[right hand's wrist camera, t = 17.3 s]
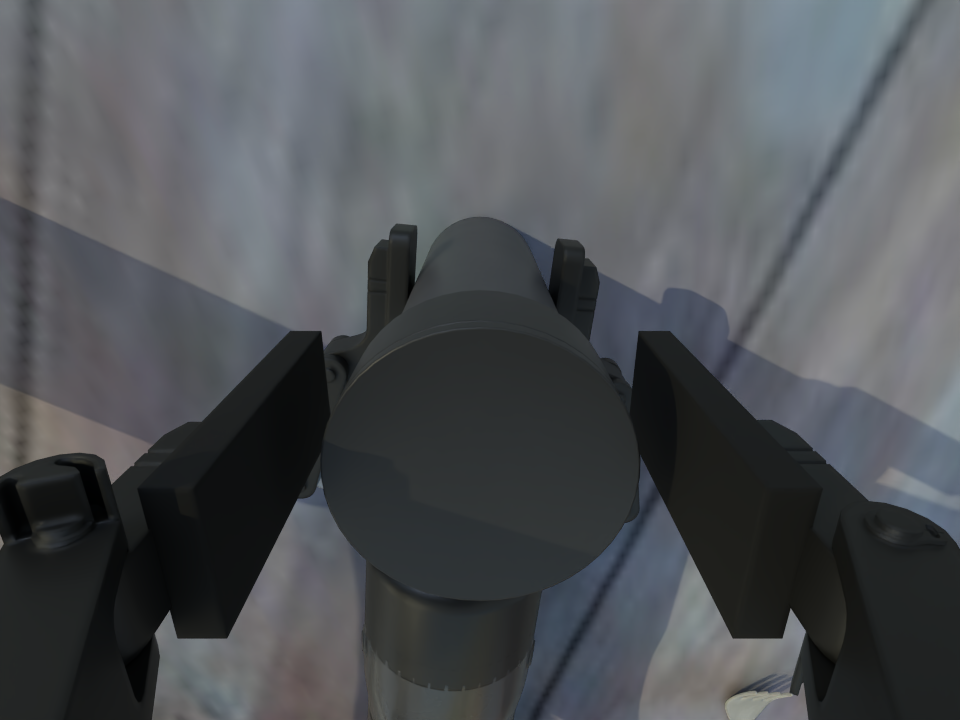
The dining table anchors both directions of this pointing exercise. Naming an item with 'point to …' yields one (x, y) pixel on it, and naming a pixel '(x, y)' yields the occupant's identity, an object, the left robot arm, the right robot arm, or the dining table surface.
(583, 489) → the lid
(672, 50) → the dining table surface
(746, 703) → the fork
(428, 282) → the dark grey cylinder
